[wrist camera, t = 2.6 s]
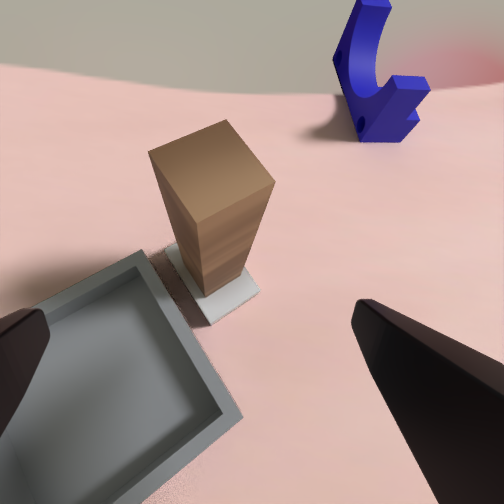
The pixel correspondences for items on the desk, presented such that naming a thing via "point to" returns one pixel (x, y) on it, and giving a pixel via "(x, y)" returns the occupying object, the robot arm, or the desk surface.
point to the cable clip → (364, 81)
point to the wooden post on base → (213, 214)
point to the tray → (113, 395)
